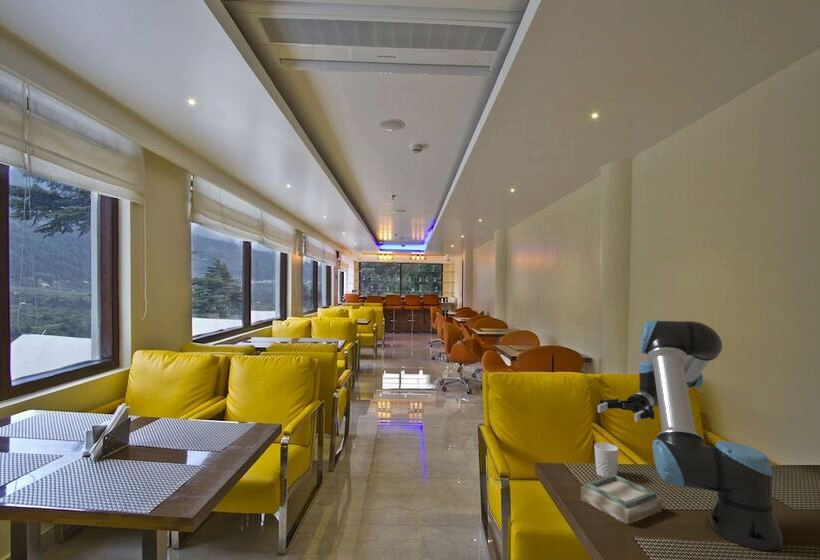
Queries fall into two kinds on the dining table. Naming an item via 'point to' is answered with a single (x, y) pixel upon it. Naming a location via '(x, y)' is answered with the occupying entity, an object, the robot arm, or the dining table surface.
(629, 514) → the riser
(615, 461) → the white cup
